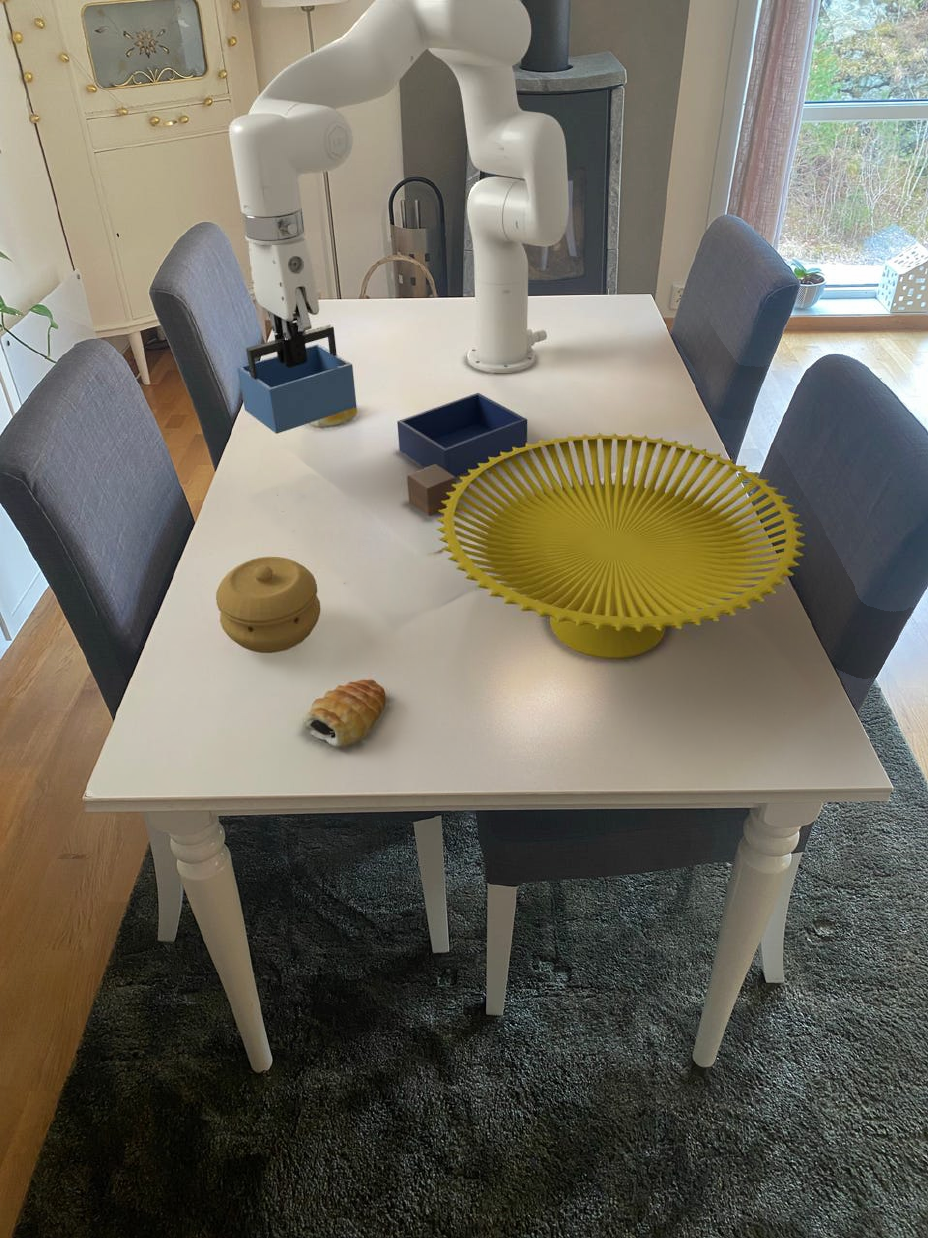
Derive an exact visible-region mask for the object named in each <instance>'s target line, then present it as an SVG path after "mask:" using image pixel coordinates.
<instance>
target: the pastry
mask: <svg viewBox="0 0 928 1238" xmlns="http://www.w3.org/2000/svg"><path fill="white" fill-rule="evenodd" d="M386 701H387V695H386V692H385V689H384V687H383V686H382V685H380V684H378V683H377V681H376V680H374V679H372V678H370V679H359V680H356V681H349V682H348V683H347V684H345V685H342V684H341V685H337V686H336V687H335V689H333V690H327V691H326V692H325V693H324V696H323V697H320V698H316V699H315V700H314V701H313V703H312V704H311V707H310V710H309V711H307V713H306V715H305V717H303V719H302V723H303V726H304V728H306V729H307V730H308V732H309V734H310V735H312V736H313V737H315V739H319V740H323V741H326V742H327V743H328V744H329V745H331V746H333V747H336V748H337V747H338V748H339V747H345V746H352V745H354V744H356V743H359V742H360V741H361V740H362V739H363V738H364V737H365V736H368V734H369V732H370V731H371V730H372V729H373V727H374V726H375V724H376V723H377V721H378V720H379V718H380V716H381V715H382V713H383V712H384V709H385V708H386Z"/></svg>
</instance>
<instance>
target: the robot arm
mask: <svg viewBox="0 0 928 1238" xmlns="http://www.w3.org/2000/svg"><path fill="white" fill-rule="evenodd" d="M531 38H532V24H531V19H530V15H529V12H528V10H527V8H526V7H525V5H524V4H523V2H521V0H374V1H373V2H372V4H370V6H369V7H368V8H367V9H366V11H365V12H364V13H363V14H362V15H361V16H360V17H359V18H358V20H357V21H356V22H355V23H354V24H353V26H352V27H351V28H350V29H349V30H348V31H347V32H346V33H345V34H343V36H342V37H340V38H338V39H336V40H334V41H332V42H330V43H328V44H326V45H324V46H321V47H319V48H318V49H317V50H315V51H313V52H311V53H310V54H307V55H305V56H303V57H302V58H300V59H298V60H297V61H294V62H293V63H292V64H290V65H289V66H287V67H286V68H284V69H283V70H281V72H279V73H278V74H277V75H276V76H275V77H274V78H273V79H272V80H271V81H270V83H269V84H268V85H267V86H266V87H265V88H264V89H263V90H262V92H260V94H258V96H257V97H256V99H255V100H254V102H253V104H252V106H251V107H250V108H249V111H248V113H247V114H244V115H240V116H238V117H236V118H234V119H233V120H232V121H231V123H229V126H228V134H229V135H228V137H229V144H230V150H231V156H232V163H233V169H234V175H235V181H236V186H237V187H236V189H237V193H238V199H239V206H240V211H241V212H240V213H241V219H242V225H243V231H244V237H245V241H246V242H248V253H249V264H250V273H251V280H252V287H253V292H254V296H255V300H256V302H257V303H258V304H259V306H261V307H262V308H263V309H264V311H266V313H267V314H268V317H269V320H270V325H271V330H272V333H273V335H274V340H277V339H281V338H284V339H281V340H282V347H283V350H281V351H278V352H276V356H278V361H279V362H280V363H285V366H286V367H288V368H291V367H294V366H297V365H301V364H304V363H306V362H307V354H306V347H307V346H306V344H305V338H304V336H305V331H309V330H312V329H313V328H312V327H313V326H312V323H311V319H310V315H312V316H317V315H318V314H319V312H320V304H319V297H318V290H317V285H316V279H315V273H314V268H313V263H312V259H311V255H310V251H309V248H308V244H307V241H306V238H304V237H305V226H304V218H303V210H302V209H303V208H302V202H301V195H300V186H299V177H300V176H301V175H308V174H320V173H321V174H322V173H328V172H332V171H334V170H336V169H338V168H339V167H341V166H342V165H343V164H344V163H345V162H346V161H347V159H348V158H349V157H350V154H351V151H352V149H353V143H354V142H353V141H354V138H353V137H354V136H353V131H352V128H351V124H350V123H349V121H348V120H347V118H346V116H344V115H343V114H342V113H341V112H340V111H338V110H336V109H341V108H345V107H349V106H355V105H359V104H364V103H368V102H370V101H373V100H376V99H379V98H381V97H383V96H386V95H388V94H389V93H390V92H391V91H392V90H393V89H394V88H395V87H396V85H397V84H398V83H399V82H400V80H402V78H403V77H404V76H405V74H406V73H407V72H408V71H409V70H410V68H411V67H412V66H413V65H414V64H415V62H416V61H417V60H418V59H419V58H420V57H421V56H422V54H423V53H424V52H425V51H426V50H428V51H429V52H430V53H431V54H432V55H433V56H435V57H436V58H438V59H440V60H442V62H444V63H445V65H447V66H448V67H449V69H450V70H451V71H452V73H453V74H454V76H455V79H456V80H457V83H458V85H459V89H460V94H461V101H462V105H463V106H462V107H463V108H462V109H463V117H464V125H465V132H466V138H467V146H468V147H467V148H468V153H469V157H470V160H471V163H472V165H473V166H474V167H475V168H476V169H477V170H479V171H480V172H482V173H487V174H490V175H495V176H488V177H484V178H482V179H480V180H479V181H477V182H476V183H475V184H474V185H473V186H472V187H471V189H470V191H469V194H468V197H467V202H466V212H467V220H468V226H469V231H470V235H471V241H472V248H473V249H472V250H473V269H474V270H473V271H474V272H473V273H474V274H473V275H474V277H473V279H474V281H473V282H474V336H475V337H474V339H475V341H474V342H475V346H474V347H472V348H470V350H469V351H468V352H467V356H466V357H467V363H468V364H469V365H470V366H471V367H472V368H474V369H475V370H478V371H481V372H485V373H490V374H491V373H493V374H509V373H511V374H512V373H516V372H520V371H524V370H525V369H528V368H530V367H531V366H532V365H533V364H534V363H535V361H536V352H535V351H534V349H533V348H532V347H533V346H534V345H535V343H540V342H543V341H546V340H547V338H548V334H547V332H546V330H545V329H540V330H536V331H535V332H533V330H532V329H531V328H528V315H529V314H528V311H529V310H528V309H529V307H528V305H529V261H528V255H527V252H526V250H525V248H524V245H529V246H536V247H545V248H546V247H552V246H555V245H556V244H558V243H559V242H560V241H561V240H562V239H563V237H564V235H565V233H566V231H567V228H568V224H569V217H570V215H569V214H570V202H569V201H570V199H569V181H568V179H569V178H568V177H569V176H568V159H567V145H566V144H567V143H566V137H565V134H564V131H563V129H562V126H561V125H560V123H559V122H558V120H557V119H555V118H554V117H553V116H552V115H549V114H546V113H543V112H538V111H537V112H535V111H529V110H523V109H521V107H520V105H519V100H518V95H517V85H516V77H515V72H514V68H513V66H515V65H517V64H518V63H519V62H521V61H522V59H523V58H524V57H525V55H526V53H527V51H528V49H529V46H530V44H531ZM496 175H497V176H496ZM523 244H524V245H523ZM309 314H310V315H309Z"/></svg>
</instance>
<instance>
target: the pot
mask: <svg viewBox="0 0 928 1238" xmlns="http://www.w3.org/2000/svg"><path fill="white" fill-rule="evenodd" d="M215 593H216V594H215V600H216V606H217V609H218V611H219V612H220V616H219V622H220V625H221V628H222V630H223V632H224V633H225V634H226V635H227V637H228V638H230V640H231V641H233V642H234V643H236V644H237V645H239V646H240V647H242V648H243V649H245V650H248V651H250V652H254V653H260V654H275V653H280V652H284V651H287V650H291V649H292V648H295V647H296V646H298V645H300V644H301V643H303V642H304V641H305V640H306V639H307V638H308V637H309V636H310V635H311V633H312V632H313V630H314V628H315V627H316V625H317V623H318V621H319V618H320V614H321V601H320V598H319V597H318V584H317V580H316V578H315V576H314V574H313V573H312V572H311V571H310V570H309V569H308V568H307V567H305V566H304V565H302V564H301V563H299V562H298V561H296V560H292V559H290V558H286V557H282V556H281V557H280V556H263V557H257V558H254V559H250V560H247V561H245V562H243V563H240V564H238V565H237V566H235V567H234V568H232V569H231V570H230V571H229V572H228V573H227V574H226V575H225V576H224V577H223V579H221V582H220V583H219V585H218V587H217V589H216V592H215Z"/></svg>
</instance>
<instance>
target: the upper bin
mask: <svg viewBox="0 0 928 1238" xmlns="http://www.w3.org/2000/svg"><path fill="white" fill-rule="evenodd" d="M304 338H305V345H306V344H309V343H312V342H317V341H319V340H323V339H327V342H328V349H327V348H325V347H324V346H322V345H320V344H318V343H316V344H313V345H310V346H306V354H307V362H306V363H304V364H301V365H297V366H294V367H291V368H288V367H286V366H285V363H280V362H279V361H278V356H277V355H275V356H272V357H268V358H265V359H262V360H258V361H256V360H255V359H257V358H260V357H264V356H267V355H271V354H275V353H277V352H278V351H281V350H283V347H282V340H281V339H284V338H281V339H277V340H275V339H274V340H269V341H267V342H263V343H260V344H256V345H253V346H249V347H246V348H245V351H246V357H247V362H248V364H244V365H240V366H237V374H238V381H239V387H240V392H241V396H242V403H243V408H244V411H245V412H247V413H248V414H249V415H251V416H252V418H254V419H256V420H257V421H259V422H260V423H261V424H263V425H264V426H265V427H266V428H268V430H270V431H272V432H273V433H274V434H276V435H277V434H280V433H283V432H287V431H290V430H293V429H296V428H299V427H302V426H305V425H309V423H311V422H314V421H317V420H320V419H323V418H326V417H329V416H332V415H335V414H338V413H341V412H344V411H347V410H350V409H353V408H356V407H357V408H358V406H357V397H356V387H355V377H354V367H353V364H352V363H351V362H349V361H348V360H346V359H344V358H342V357H340V356H339V355H338V353H337V344H336V336H335V328H334V326H332V325H331V324H327V325H323V326H320V327H316V328H311V329H309V330H306V331H305V336H304Z"/></svg>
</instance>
